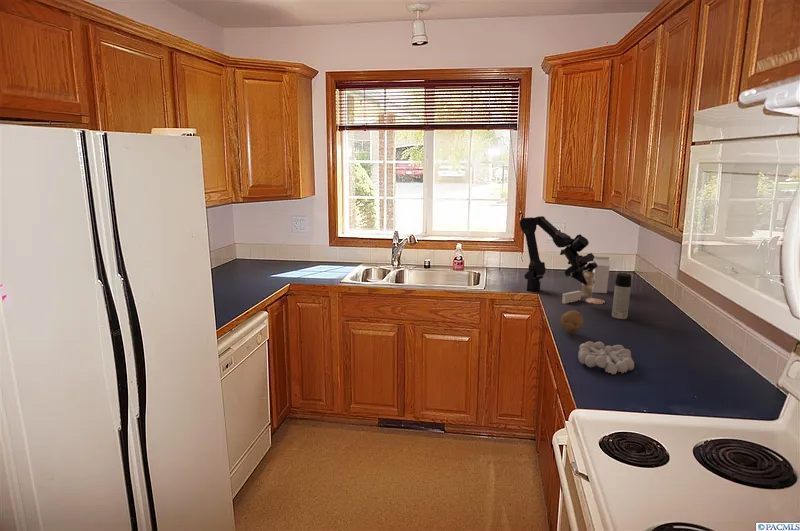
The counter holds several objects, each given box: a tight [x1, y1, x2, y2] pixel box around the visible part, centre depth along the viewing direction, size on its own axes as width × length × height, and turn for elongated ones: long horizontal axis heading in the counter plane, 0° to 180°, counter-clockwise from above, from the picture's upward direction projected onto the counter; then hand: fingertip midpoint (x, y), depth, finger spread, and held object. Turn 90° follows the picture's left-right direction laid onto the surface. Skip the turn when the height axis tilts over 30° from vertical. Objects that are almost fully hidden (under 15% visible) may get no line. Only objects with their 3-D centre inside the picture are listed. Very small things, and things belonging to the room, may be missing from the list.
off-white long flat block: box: [561, 290, 582, 305], centre depth 266 cm, size 12×2×5 cm, turn 124°
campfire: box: [577, 340, 635, 375], centre depth 190 cm, size 22×21×6 cm
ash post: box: [580, 271, 594, 299], centre depth 257 cm, size 5×5×12 cm
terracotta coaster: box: [585, 297, 606, 305], centre depth 267 cm, size 9×9×1 cm
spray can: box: [611, 272, 632, 320], centre depth 241 cm, size 7×7×20 cm
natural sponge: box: [560, 309, 584, 335], centre depth 218 cm, size 9×9×10 cm
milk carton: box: [592, 255, 610, 294], centre depth 285 cm, size 7×7×19 cm
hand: (590, 284), depth 256 cm, fingers closed on ash post, 5 cm apart
